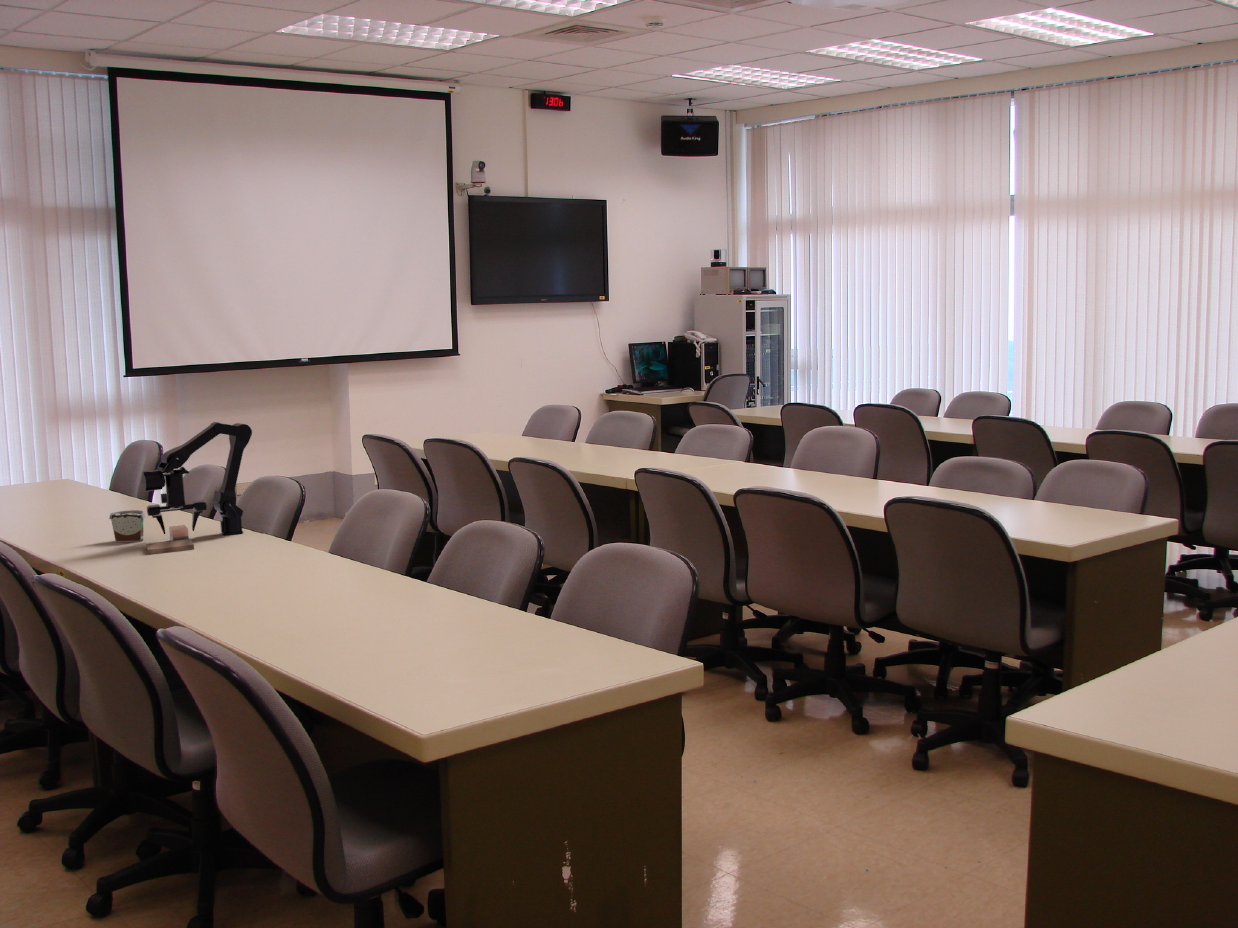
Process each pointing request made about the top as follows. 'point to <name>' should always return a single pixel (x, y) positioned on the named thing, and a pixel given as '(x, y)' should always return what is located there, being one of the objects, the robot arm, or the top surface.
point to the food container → (128, 525)
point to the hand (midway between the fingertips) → (179, 532)
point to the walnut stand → (169, 546)
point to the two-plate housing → (178, 533)
